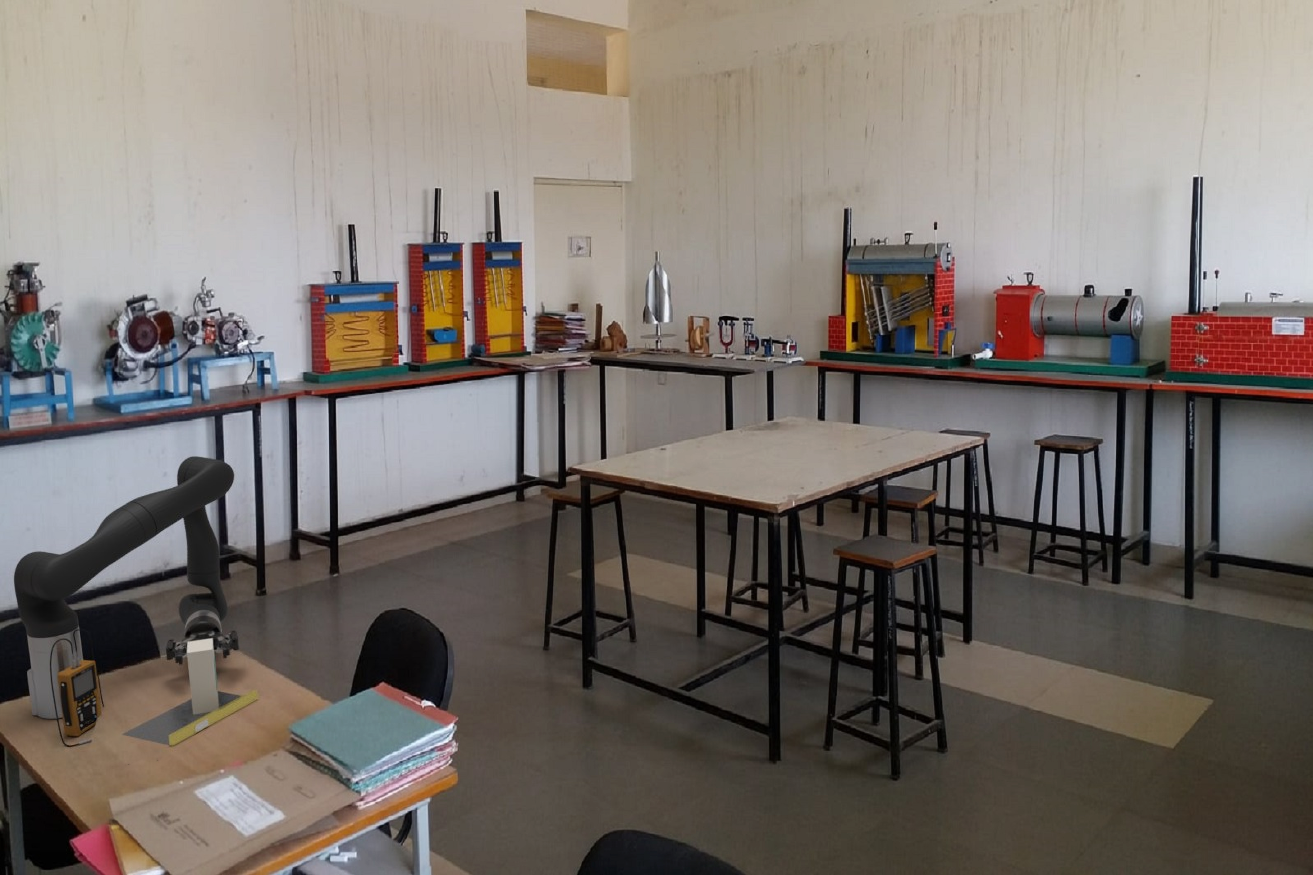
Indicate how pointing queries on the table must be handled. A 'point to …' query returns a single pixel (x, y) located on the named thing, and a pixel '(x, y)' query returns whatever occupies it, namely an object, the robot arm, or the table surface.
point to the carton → (202, 676)
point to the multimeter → (78, 694)
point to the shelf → (189, 719)
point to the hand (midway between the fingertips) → (202, 657)
